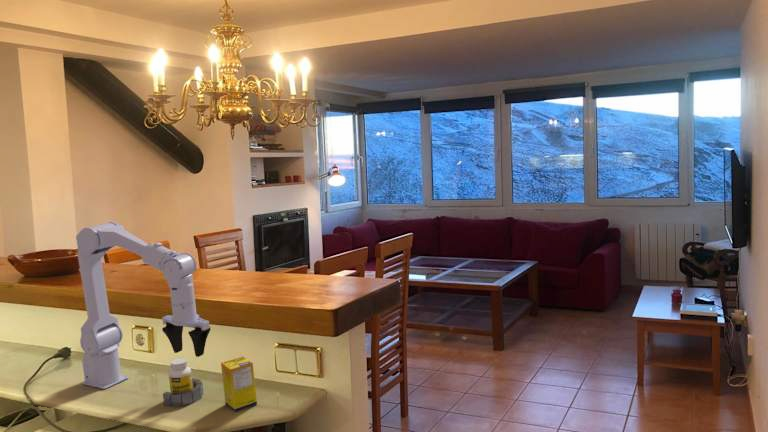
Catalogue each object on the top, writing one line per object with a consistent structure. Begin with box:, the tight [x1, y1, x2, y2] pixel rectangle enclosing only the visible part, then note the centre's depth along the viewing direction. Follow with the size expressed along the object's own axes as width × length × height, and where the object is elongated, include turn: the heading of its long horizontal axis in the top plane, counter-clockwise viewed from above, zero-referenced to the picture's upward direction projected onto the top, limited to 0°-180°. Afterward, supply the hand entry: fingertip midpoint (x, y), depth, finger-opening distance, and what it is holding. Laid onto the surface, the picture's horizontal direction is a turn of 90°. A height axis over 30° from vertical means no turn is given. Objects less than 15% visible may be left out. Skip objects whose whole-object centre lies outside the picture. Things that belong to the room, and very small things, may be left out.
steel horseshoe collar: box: [162, 377, 204, 408], centre depth 158 cm, size 6×10×3 cm, turn 151°
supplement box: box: [220, 356, 258, 413], centre depth 152 cm, size 6×6×11 cm
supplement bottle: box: [168, 357, 193, 393], centre depth 158 cm, size 5×5×10 cm
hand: (189, 353), depth 161 cm, fingers open, 7 cm apart
